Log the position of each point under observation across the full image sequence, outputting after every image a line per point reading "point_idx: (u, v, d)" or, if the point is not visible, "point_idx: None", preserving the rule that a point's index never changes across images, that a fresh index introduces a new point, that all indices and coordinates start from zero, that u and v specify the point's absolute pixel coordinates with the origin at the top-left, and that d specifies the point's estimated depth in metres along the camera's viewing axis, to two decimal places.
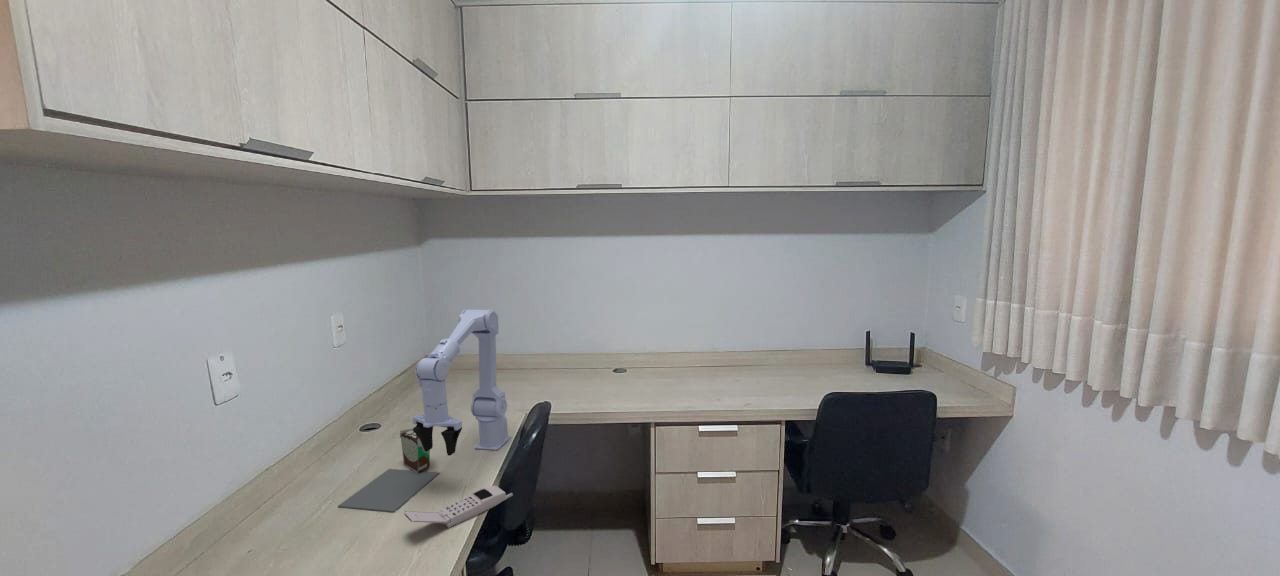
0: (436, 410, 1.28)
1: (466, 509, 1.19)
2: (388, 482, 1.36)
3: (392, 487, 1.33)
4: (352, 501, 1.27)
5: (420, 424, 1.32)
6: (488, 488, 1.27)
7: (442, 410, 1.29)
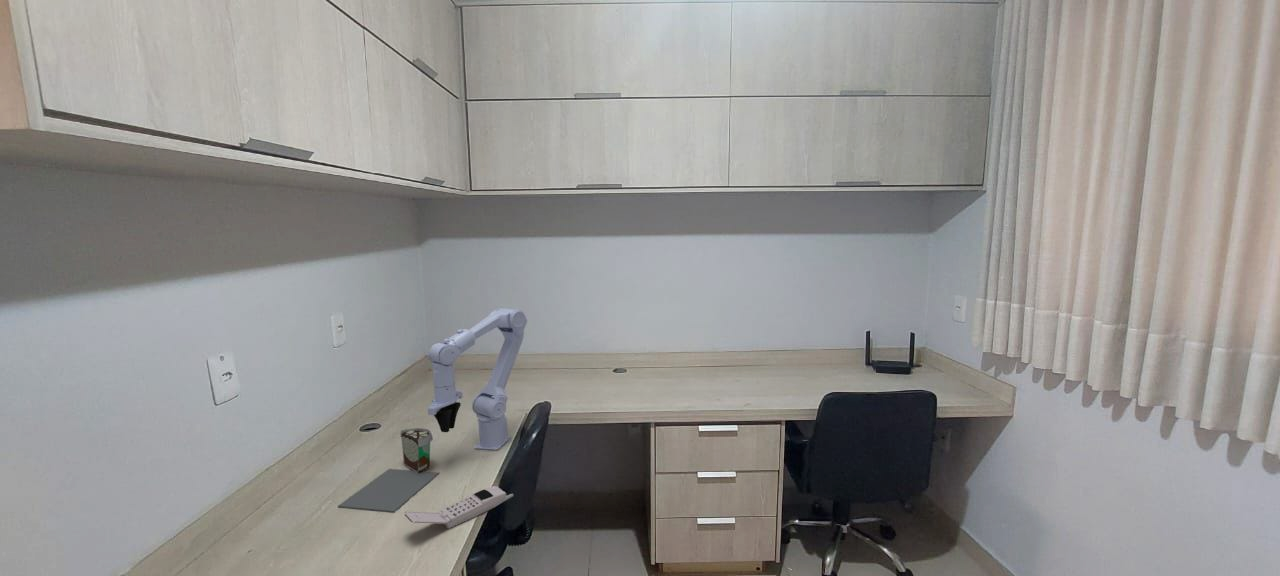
0: (434, 390, 1.42)
1: (467, 510, 1.18)
2: (388, 482, 1.36)
3: (392, 487, 1.33)
4: (352, 501, 1.27)
5: None
6: (488, 489, 1.26)
7: (437, 392, 1.41)
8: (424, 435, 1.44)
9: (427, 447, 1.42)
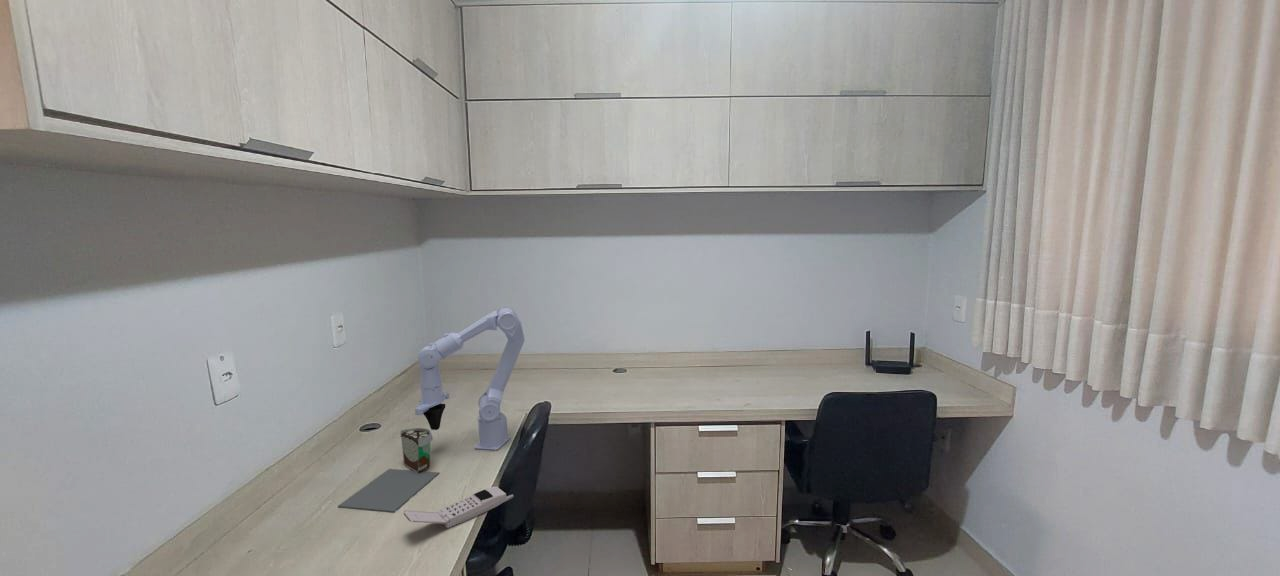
0: None
1: (466, 510, 1.18)
2: (388, 482, 1.36)
3: (392, 487, 1.33)
4: (352, 501, 1.27)
5: None
6: (489, 489, 1.26)
7: (424, 394, 1.48)
8: (424, 435, 1.44)
9: (427, 447, 1.42)
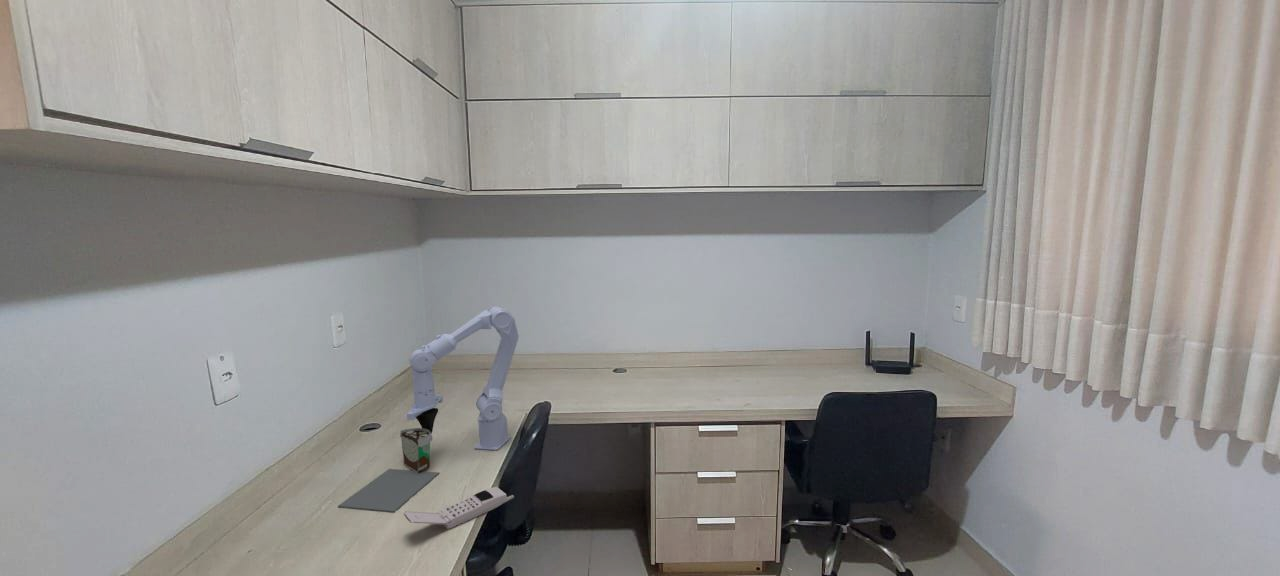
0: (414, 395, 1.46)
1: (466, 511, 1.18)
2: (388, 482, 1.36)
3: (392, 487, 1.33)
4: (352, 501, 1.27)
5: None
6: (489, 490, 1.26)
7: (416, 398, 1.45)
8: (424, 435, 1.44)
9: (427, 447, 1.42)
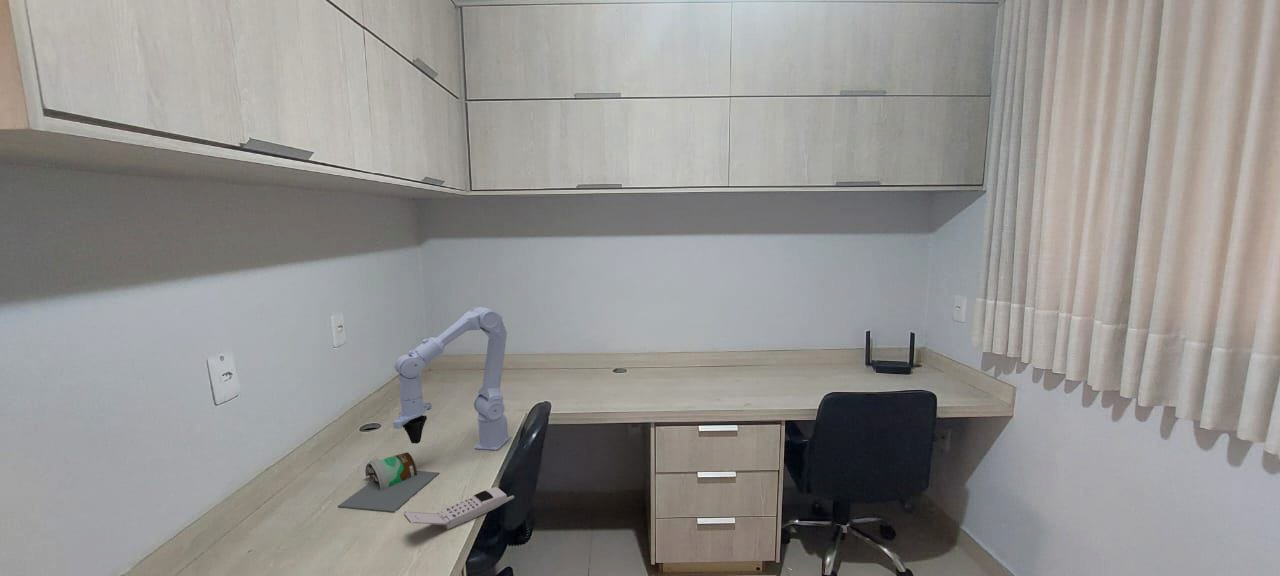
0: (401, 402, 1.40)
1: (466, 511, 1.18)
2: None
3: (392, 487, 1.33)
4: (352, 501, 1.27)
5: None
6: (489, 490, 1.26)
7: (403, 405, 1.39)
8: None
9: (391, 472, 1.35)
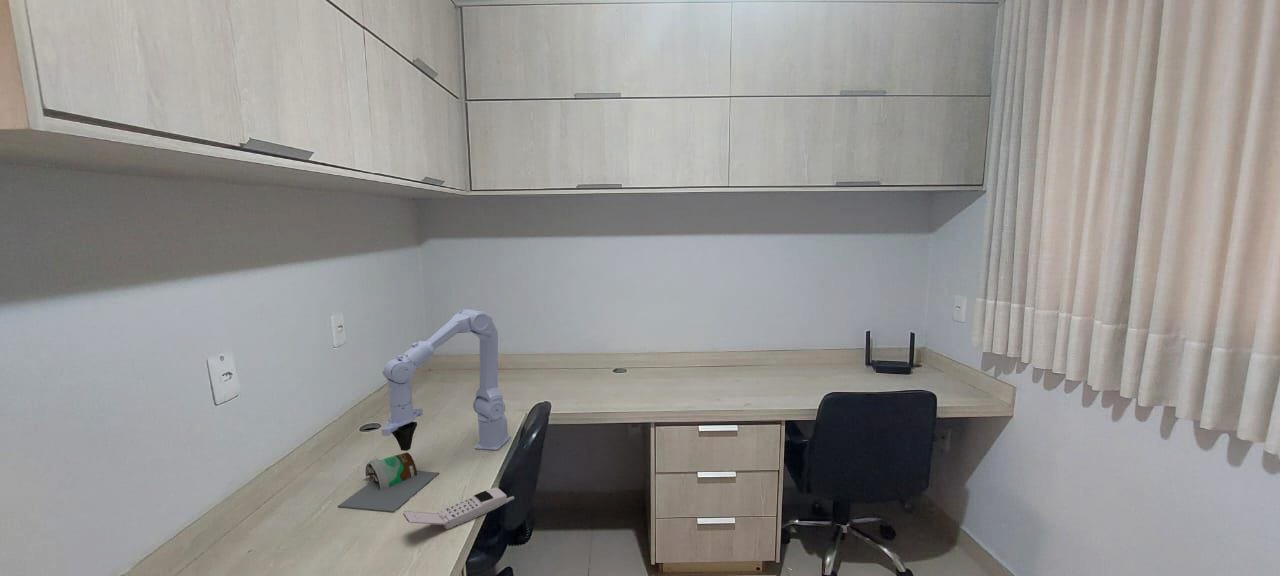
0: (390, 409, 1.35)
1: (465, 511, 1.18)
2: None
3: (392, 487, 1.33)
4: (352, 501, 1.27)
5: None
6: (490, 490, 1.26)
7: (393, 411, 1.34)
8: None
9: (391, 472, 1.35)
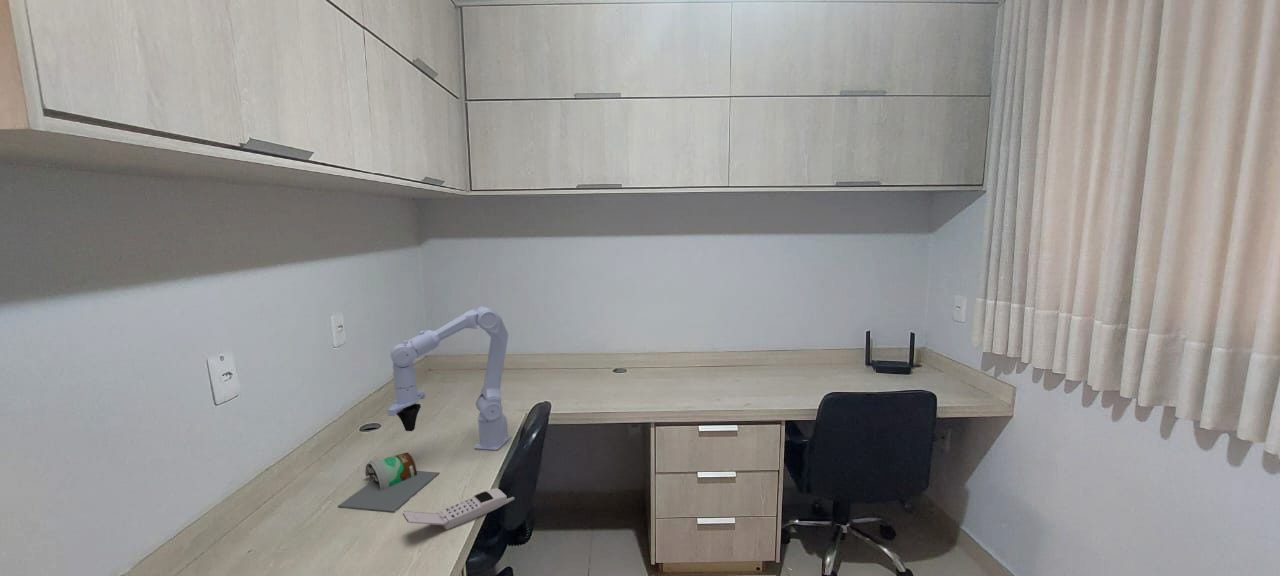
0: (395, 391, 1.43)
1: (465, 512, 1.18)
2: None
3: (392, 487, 1.33)
4: (352, 501, 1.27)
5: None
6: (490, 491, 1.25)
7: (397, 393, 1.42)
8: None
9: (391, 472, 1.35)
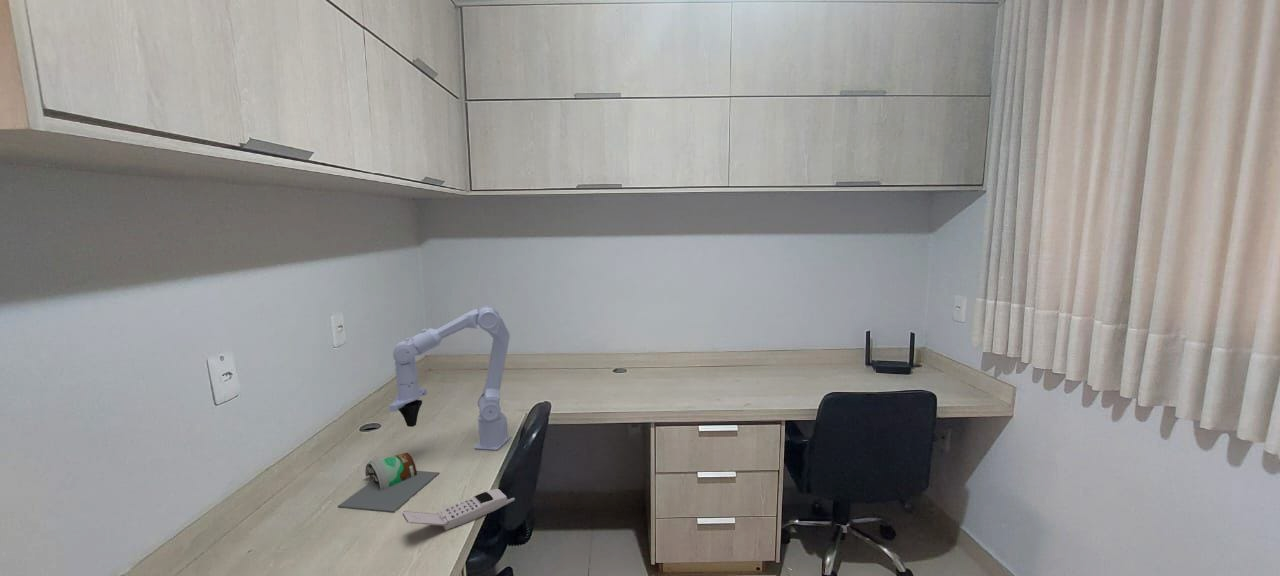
0: (397, 387, 1.46)
1: (465, 512, 1.17)
2: None
3: (392, 487, 1.33)
4: (352, 501, 1.27)
5: None
6: (490, 491, 1.25)
7: (399, 389, 1.45)
8: None
9: (391, 472, 1.35)
